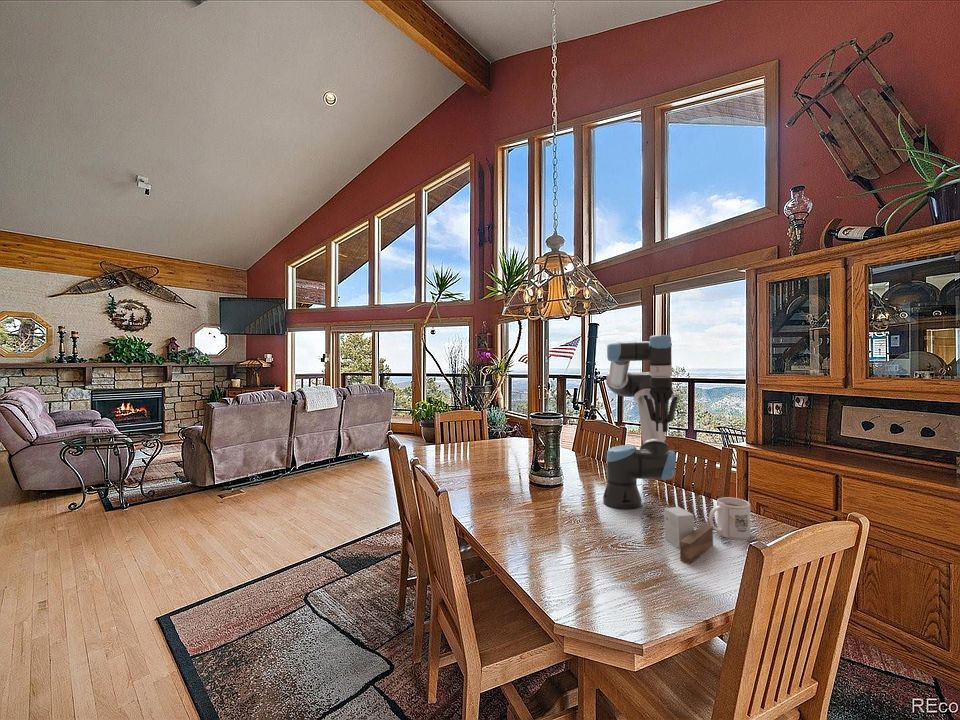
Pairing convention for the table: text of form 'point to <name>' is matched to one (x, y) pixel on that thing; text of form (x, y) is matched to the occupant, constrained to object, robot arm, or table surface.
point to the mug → (732, 518)
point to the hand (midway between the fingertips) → (662, 440)
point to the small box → (677, 524)
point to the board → (696, 543)
